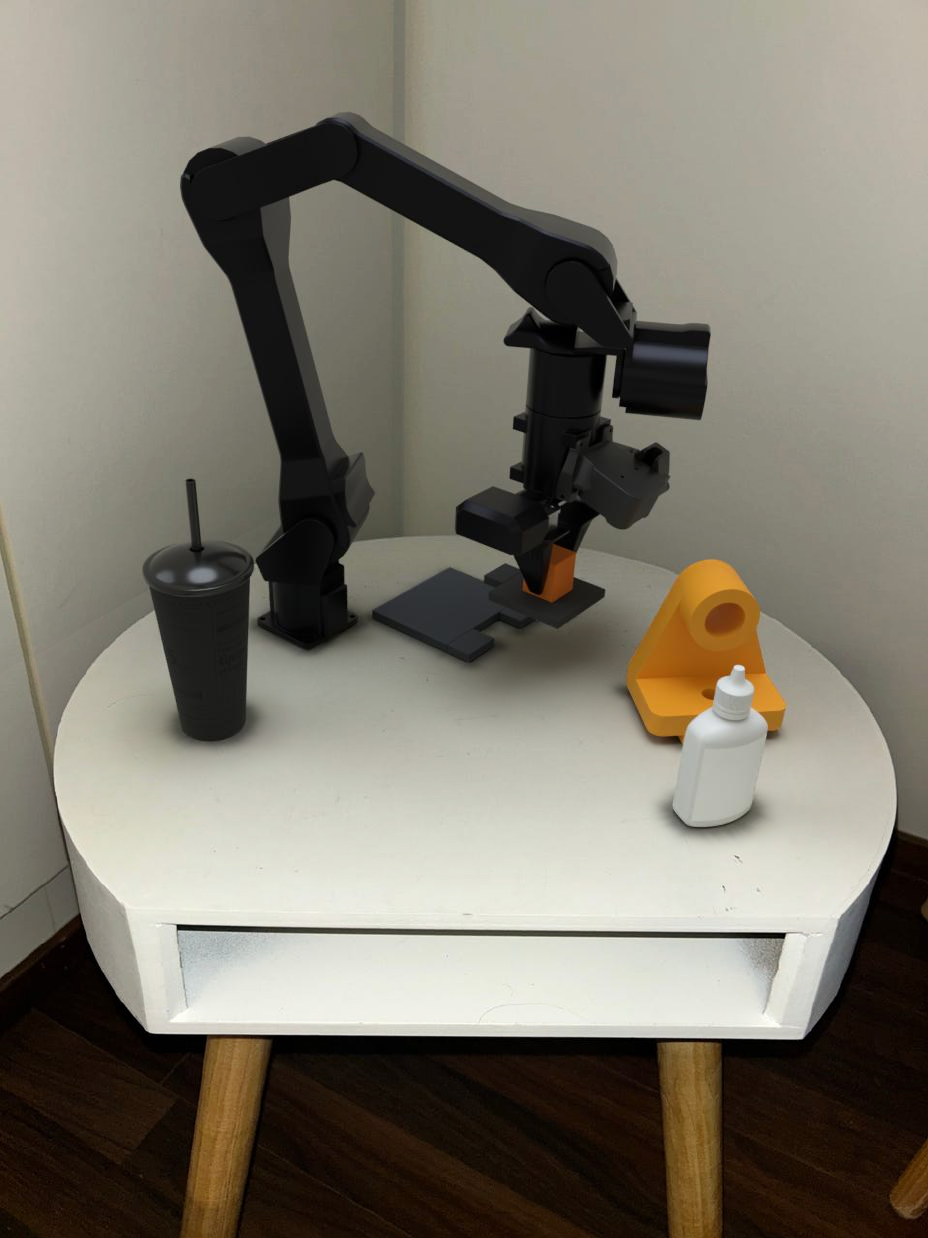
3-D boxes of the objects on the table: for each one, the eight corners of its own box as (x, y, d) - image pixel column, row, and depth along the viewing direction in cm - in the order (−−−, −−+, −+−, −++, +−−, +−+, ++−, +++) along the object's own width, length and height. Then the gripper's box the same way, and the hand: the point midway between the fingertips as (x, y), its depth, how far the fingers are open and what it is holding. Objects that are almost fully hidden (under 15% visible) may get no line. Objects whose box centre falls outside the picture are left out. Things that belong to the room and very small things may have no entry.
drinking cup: (215, 682, 89) (194, 449, 79) (285, 717, 85) (271, 477, 75) (140, 726, 84) (106, 482, 73) (211, 765, 80) (186, 515, 70)
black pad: (468, 591, 92) (471, 546, 90) (517, 562, 97) (521, 518, 95) (557, 629, 88) (562, 582, 85) (604, 597, 92) (610, 551, 90)
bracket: (649, 745, 84) (670, 609, 78) (624, 691, 90) (642, 561, 84) (783, 738, 85) (814, 604, 79) (750, 685, 91) (777, 557, 85)
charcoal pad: (371, 617, 99) (371, 610, 98) (449, 574, 106) (449, 566, 106) (468, 662, 93) (469, 654, 92) (543, 613, 100) (544, 605, 100)
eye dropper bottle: (755, 835, 76) (788, 690, 70) (672, 827, 76) (698, 682, 70) (747, 794, 79) (778, 653, 73) (669, 786, 80) (693, 646, 74)
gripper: (585, 470, 73) (565, 668, 81) (717, 401, 86) (688, 577, 94) (454, 427, 78) (447, 615, 87) (595, 368, 91) (578, 537, 99)
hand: (547, 585), depth 91 cm, fingers closed on black pad, 3 cm apart
